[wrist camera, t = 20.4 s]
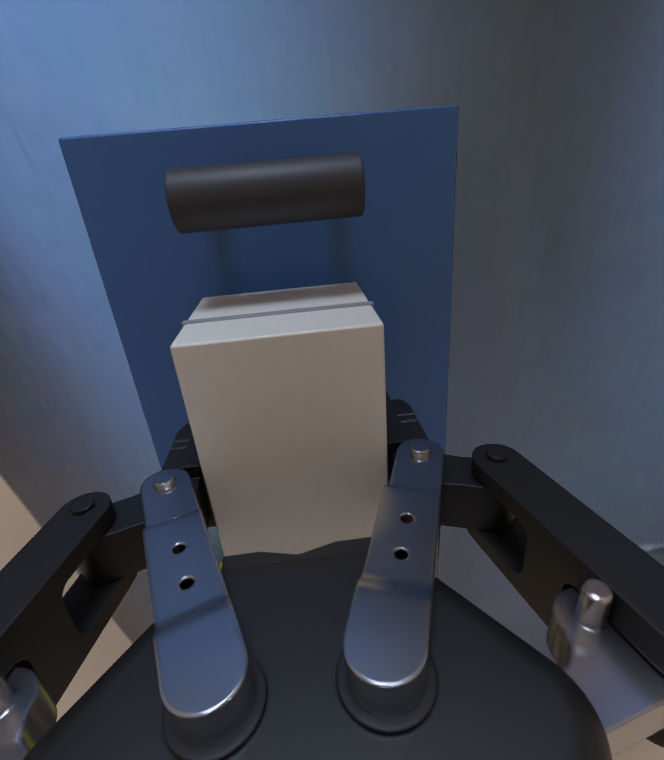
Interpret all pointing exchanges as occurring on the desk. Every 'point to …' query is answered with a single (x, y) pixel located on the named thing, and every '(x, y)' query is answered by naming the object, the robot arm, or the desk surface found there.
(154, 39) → the desk surface
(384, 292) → the blue lid
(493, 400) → the desk surface
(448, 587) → the robot arm
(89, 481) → the desk surface
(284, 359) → the beige case
